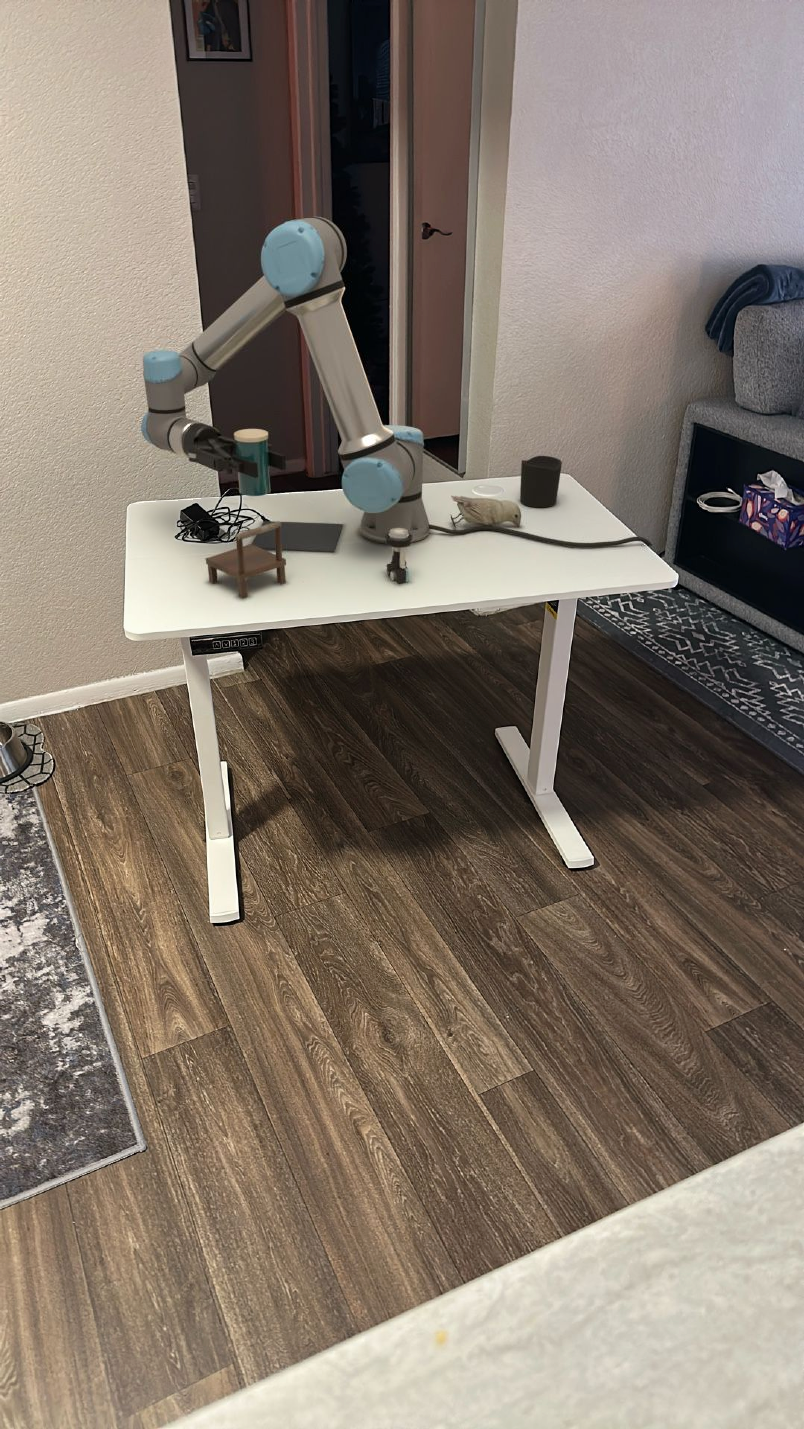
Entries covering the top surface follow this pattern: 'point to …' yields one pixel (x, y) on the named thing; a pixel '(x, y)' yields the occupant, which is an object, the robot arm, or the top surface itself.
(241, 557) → the miniature wooden chair
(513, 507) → the decorative bird
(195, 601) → the top surface
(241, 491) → the canister
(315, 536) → the mat
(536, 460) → the pen holder
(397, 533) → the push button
